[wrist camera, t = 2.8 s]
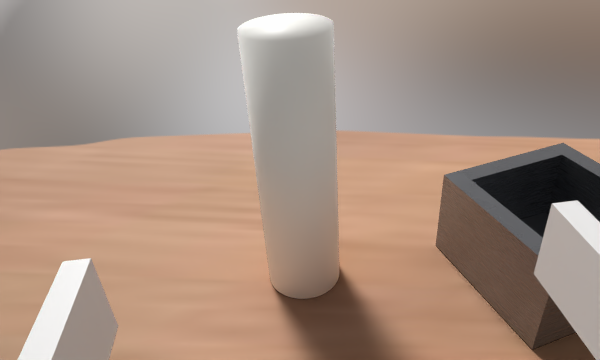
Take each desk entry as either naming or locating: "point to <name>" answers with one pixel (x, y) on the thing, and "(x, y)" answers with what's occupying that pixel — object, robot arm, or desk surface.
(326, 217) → the cylinder
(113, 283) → the desk surface
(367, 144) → the desk surface
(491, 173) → the square open box
